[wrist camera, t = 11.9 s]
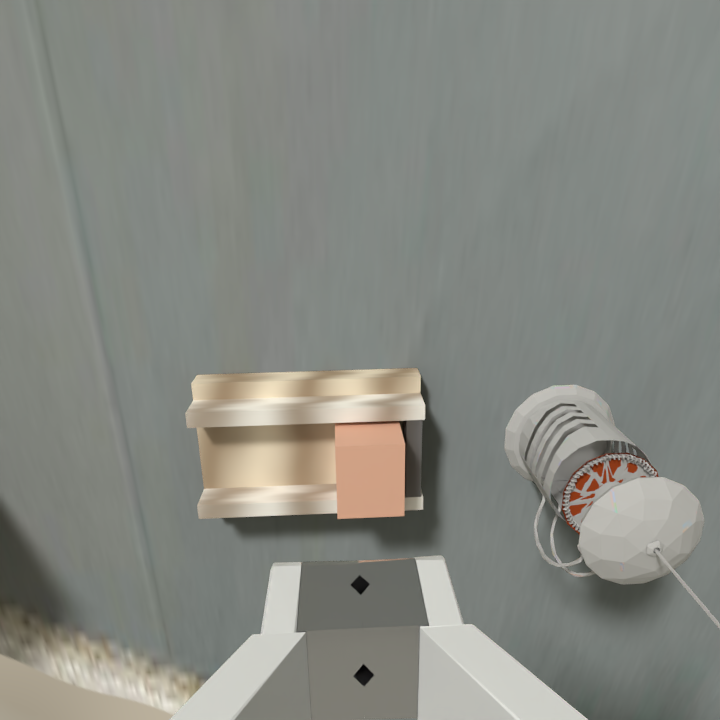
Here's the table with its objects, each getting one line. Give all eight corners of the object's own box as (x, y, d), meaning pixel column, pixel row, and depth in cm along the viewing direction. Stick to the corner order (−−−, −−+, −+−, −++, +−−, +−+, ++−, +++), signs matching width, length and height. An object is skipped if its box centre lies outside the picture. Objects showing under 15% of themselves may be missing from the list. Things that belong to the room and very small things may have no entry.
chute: (417, 368, 46) (425, 388, 42) (415, 494, 50) (422, 524, 46) (197, 374, 45) (183, 396, 41) (212, 502, 49) (200, 533, 45)
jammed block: (396, 412, 45) (405, 444, 40) (396, 477, 47) (404, 516, 42) (334, 414, 45) (335, 446, 40) (337, 480, 47) (337, 518, 42)
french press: (638, 418, 49) (927, 655, 25) (555, 517, 51) (744, 812, 28) (550, 363, 47) (775, 563, 23) (469, 469, 49) (595, 744, 26)
